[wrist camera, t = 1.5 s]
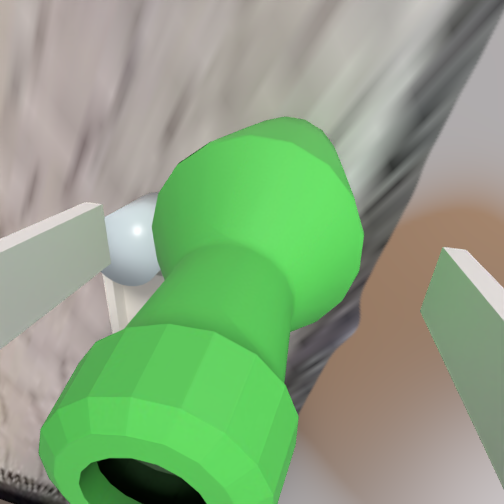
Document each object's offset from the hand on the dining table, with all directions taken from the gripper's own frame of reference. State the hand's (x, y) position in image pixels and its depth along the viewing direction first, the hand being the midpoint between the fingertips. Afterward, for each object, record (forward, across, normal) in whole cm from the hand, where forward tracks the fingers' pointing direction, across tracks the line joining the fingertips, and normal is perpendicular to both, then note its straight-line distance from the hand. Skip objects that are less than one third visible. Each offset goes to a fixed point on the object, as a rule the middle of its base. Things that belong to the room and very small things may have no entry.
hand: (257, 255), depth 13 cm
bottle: (+16, 0, 0) cm, 16 cm away
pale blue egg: (+16, -12, -6) cm, 21 cm away
